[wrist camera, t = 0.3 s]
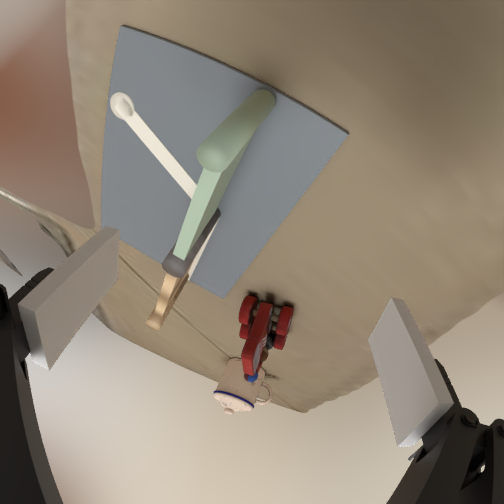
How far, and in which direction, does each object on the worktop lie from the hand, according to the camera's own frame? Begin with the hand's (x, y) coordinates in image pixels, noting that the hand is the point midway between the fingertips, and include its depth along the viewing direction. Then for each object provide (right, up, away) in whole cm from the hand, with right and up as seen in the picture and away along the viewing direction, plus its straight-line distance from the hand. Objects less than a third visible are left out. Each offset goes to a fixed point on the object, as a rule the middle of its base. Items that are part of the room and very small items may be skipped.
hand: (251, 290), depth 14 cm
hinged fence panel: (-1, +10, +13) cm, 17 cm away
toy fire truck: (+3, -7, +33) cm, 34 cm away
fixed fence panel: (-7, +3, +26) cm, 27 cm away
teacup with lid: (0, -24, +53) cm, 58 cm away
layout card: (-8, +8, +20) cm, 23 cm away
